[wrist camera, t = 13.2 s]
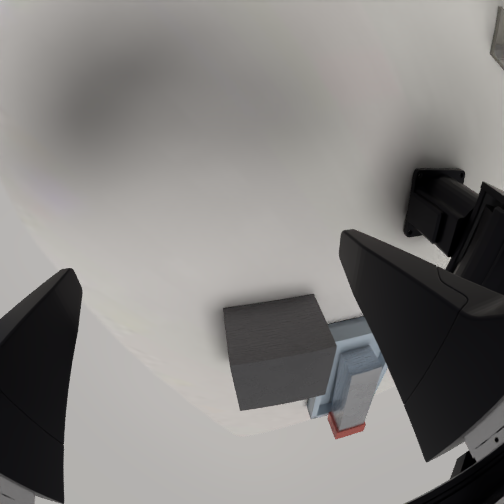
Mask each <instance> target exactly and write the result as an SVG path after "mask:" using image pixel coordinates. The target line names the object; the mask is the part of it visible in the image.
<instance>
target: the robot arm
mask: <svg viewBox="0 0 504 504" xmlns="http://www.w3.org/2000/svg"><path fill="white" fill-rule="evenodd" d="M419 173H420V175H419ZM418 175H419V176H418ZM464 177H465V172H464V171H463V170H461V169H437V168H418V169H416V170H415V171H414V174H413V181H412V188H411V194H410V200H409V206H408V212H407V217H406V223H405V228H404V234H405V235H406V236H407V237H414V236H420V235H423V236H425V237H426V238H427V239H428V240H429V241H430V242H431V243H432V244H435V245H436V246H437V247H438V248H439V249H440V250H441V251H442V252H443V253H444V254H445V255H446V256H447V257H451V259H450V261H449V263H448V265H447V267H446V269H445V270H444V269H442V268H440V267H436V265H434V264H432V263H429V262H427V261H425V260H423V259H421V258H419V257H416V256H414V255H412V254H410V253H408V252H405V251H403V250H401V249H399V248H397V247H394V246H392V245H390V244H387V243H385V242H383V241H381V240H378V239H376V238H374V237H371V236H369V235H367V234H364V233H362V232H359V231H357V230H355V229H350V230H344V231H342V233H341V238H340V248H339V257H340V260H341V263H342V266H343V268H344V271H345V273H346V276H347V279H348V282H349V284H350V287H351V290H352V292H353V295H354V297H355V299H356V301H357V303H358V305H359V307H360V309H361V311H362V313H363V315H364V317H365V319H366V321H367V323H368V325H369V328H370V330H371V332H372V334H373V336H374V338H375V340H376V342H377V344H378V347H379V349H380V351H381V353H382V355H383V358H384V360H385V362H386V364H387V366H388V369H389V371H390V373H391V376H392V378H393V380H394V382H395V385H396V387H397V389H398V392H399V394H400V396H401V399H402V401H403V404H405V405H404V407H405V409H406V411H407V414H408V416H409V419H410V421H411V424H412V427H413V429H414V432H415V434H416V437H417V439H418V442H419V445H420V448H421V450H422V453H423V456H424V459H425V461H426V462H429V461H430V460H433V459H435V458H436V457H438V456H440V455H442V454H444V453H446V452H447V451H449V450H451V449H453V448H454V447H456V446H458V445H459V444H461V443H462V442H464V441H465V443H466V445H467V447H468V449H469V451H468V452H466V453H465V454H463V455H462V456H460V457H459V458H458V459H457V461H456V464H455V467H454V470H453V472H452V475H451V478H450V480H448V481H447V482H445V483H443V484H441V485H440V486H438V487H436V488H435V489H432V490H431V491H429V492H427V493H425V494H423V495H421V496H419V497H417V498H415V499H413V500H411V501H409V502H407V503H405V504H504V192H503V191H502V190H500V189H498V188H496V187H494V186H492V185H490V184H487V183H485V182H482V185H481V187H480V188H481V190H480V193H479V194H477V193H476V192H474V191H473V190H471V189H470V188H468V187H467V186H465V185H463V183H464ZM81 301H82V287H81V285H80V283H79V280H78V278H77V276H76V274H75V272H74V270H73V269H72V268H66V269H61V270H60V271H59V272H58V273H56V274H55V275H53V276H52V277H51V278H49V279H48V280H47V281H46V282H45V283H43V284H42V285H41V286H39V287H38V288H37V289H36V290H34V291H33V292H32V293H31V294H29V295H28V296H27V297H26V298H24V299H23V300H22V301H21V302H20V303H18V304H17V305H16V306H15V307H14V308H13V309H12V310H10V311H9V312H8V313H7V314H6V315H4V316H3V317H2V318H1V319H0V504H34V501H35V496H38V497H41V498H44V499H48V500H51V501H55V502H58V503H62V504H64V482H63V481H64V480H63V479H64V478H63V459H64V458H63V457H64V445H63V444H64V430H65V417H66V406H67V397H68V388H69V381H70V374H71V367H72V360H73V355H74V349H75V344H76V338H77V333H78V326H79V316H80V309H81Z"/></svg>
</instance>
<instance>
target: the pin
mask: <svg viewBox="0 0 504 504" xmlns="http://www.w3.org/2000/svg"><path fill="white" fill-rule="evenodd" d="M382 367H383V366H382V365H381V363H380V362H379V360H378V358H377V357H376V355H375V353H374V352H373V350H372V349H371V347H370V345H367V346H364V347H360V348H356V349H353V350H349V351H345V352H341V353H340V359H339V365H338V372H337V379H336V385H335V391H334V396H333V402H332V408H331V412H329V414H328V421H329V424H330V426H331V429H332V432H333V434H334V437H335V439H338V438H342V437H345V436H348V435H351V434H354V433H358V432H361V431H363V430H364V427H365V422H364V421H365V418H366V415H367V413H368V410H369V407H370V404H371V401H372V398H373V396H374V393H375V390H376V387H377V383H378V380H379V377H380V374H381V371H382Z"/></svg>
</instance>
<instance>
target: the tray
mask: <svg viewBox="0 0 504 504" xmlns="http://www.w3.org/2000/svg"><path fill="white" fill-rule="evenodd" d="M327 325H328V327H329V329H330V331H331V334H332V336H333V338H334V340H335V343H336V345H337V349H336V353H335V357H334V362H333V366H332V370H331V374H330V378H329V382H328V385H327V389H326V393H325V395H321V396H317V397H313V398H308V401H307V408H308V412H309V415H310V418H311V419H314V418H318V417H322V416H326V415H328V414H329V412H331V408H332V402H333V396H334V391H335V385H336V379H337V372H338V365H339V359H340V353H341V352H345V351H349V350H353V349H356V348H360V347H364V346H367V345H370V347H371V349H372V350H373V352H374V353H375V355H376V357H377V358H378V360H379V362H380V363H381V365H382V366H383V367H382V371H381V374H380V377H379V380H378V383H377V387H376V390H377V388H378V386H379V384H380V382H381V380H382V378H383V376H384V374H385V372H386V370H387V368H388V366H387V364H386V362H385V360H384V358H383V355H382V353H381V351H380V349H379V347H378V344H377V342H376V340H375V338H374V336H373V334H372V332H371V330H370V328H369V325H368V323H367V321H366V319H365V317H364V316H363V317H359V318H354V319H350V320H346V321H341V322H336V323H332V324H327ZM376 390H375V392H376ZM374 394H375V393H374Z"/></svg>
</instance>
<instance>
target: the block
mask: <svg viewBox="0 0 504 504" xmlns="http://www.w3.org/2000/svg"><path fill="white" fill-rule="evenodd" d="M223 311H224V320H225V329H226V337H227V346H228V354H229V362H230V368H231V373H232V377H233V381H234V386H235V390H236V395H237V399H238V403H239V407H240V411H242V410H249V409H256V408H262V407H268V406H274V405H279V404H285V403H290V402H295V401H299V400H304V399H308V398H313V397H317V396H321V395H325V393H326V389H327V385H328V382H329V378H330V374H331V370H332V366H333V362H334V357H335V353H336V349H337V345H336V343H335V340H334V338H333V336H332V334H331V331H330V329H329V327H328V325H327V322H326V320H325V318H324V316H323V314H322V311H321V309H320V307H319V305H318V303H317V300H316V298H315V296H314V294H312V295H306V296H300V297H295V298H289V299H282V300H276V301H270V302H264V303H257V304H250V305H244V306H237V307H230V308H223Z"/></svg>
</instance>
